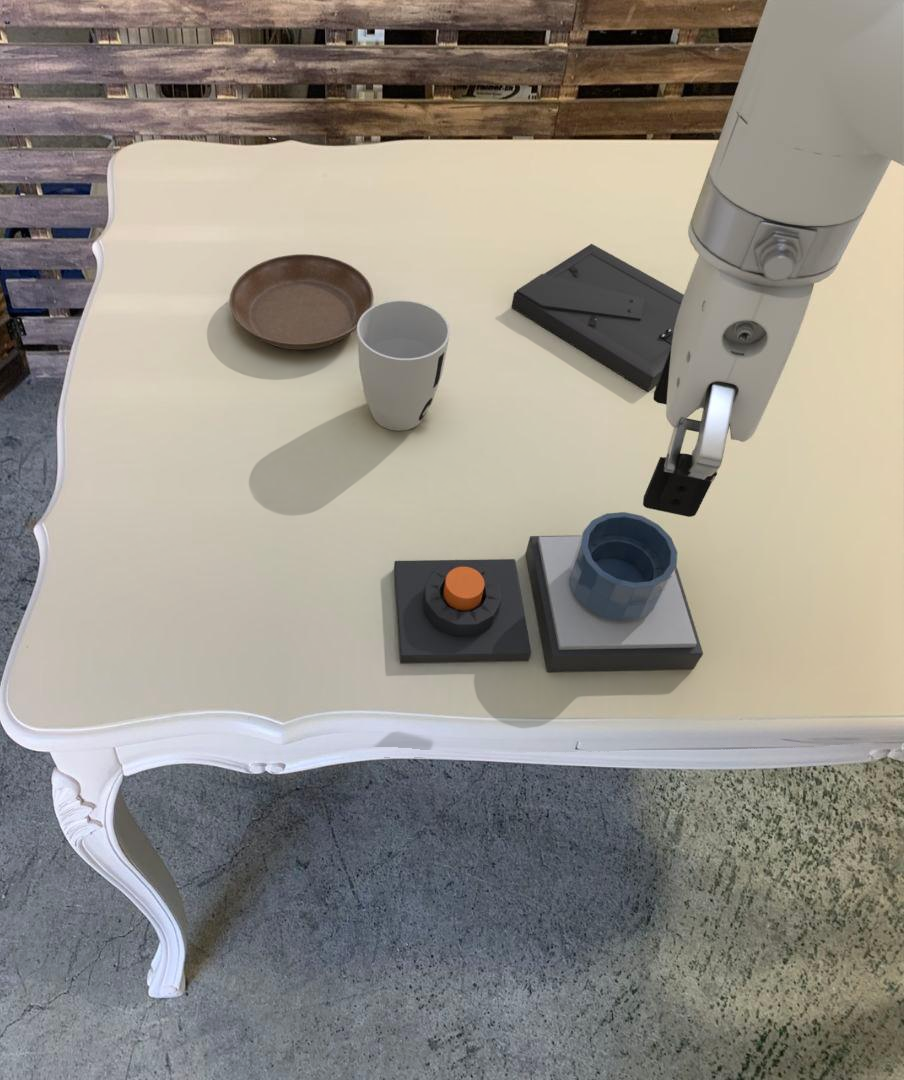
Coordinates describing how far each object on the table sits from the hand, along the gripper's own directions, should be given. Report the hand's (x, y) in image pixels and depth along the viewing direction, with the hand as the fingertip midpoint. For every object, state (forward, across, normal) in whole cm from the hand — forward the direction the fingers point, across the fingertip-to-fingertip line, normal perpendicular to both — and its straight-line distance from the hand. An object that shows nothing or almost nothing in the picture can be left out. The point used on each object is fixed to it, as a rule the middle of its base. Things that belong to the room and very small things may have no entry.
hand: (672, 453), depth 58 cm
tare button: (+16, -4, +11) cm, 20 cm away
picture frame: (+18, +37, +3) cm, 42 cm away
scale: (+18, 0, 0) cm, 18 cm away
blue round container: (+15, 0, 0) cm, 15 cm away
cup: (+18, +17, +22) cm, 33 cm away
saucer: (+18, +28, +35) cm, 48 cm away
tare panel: (+18, -4, +11) cm, 22 cm away
